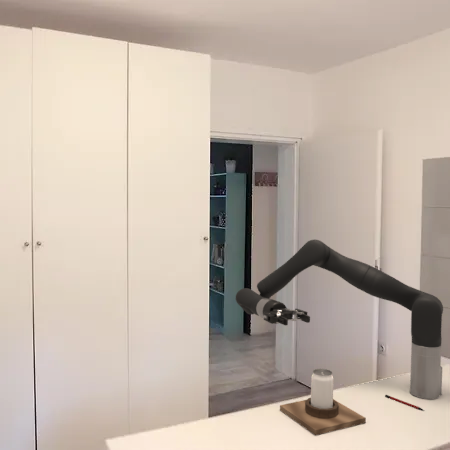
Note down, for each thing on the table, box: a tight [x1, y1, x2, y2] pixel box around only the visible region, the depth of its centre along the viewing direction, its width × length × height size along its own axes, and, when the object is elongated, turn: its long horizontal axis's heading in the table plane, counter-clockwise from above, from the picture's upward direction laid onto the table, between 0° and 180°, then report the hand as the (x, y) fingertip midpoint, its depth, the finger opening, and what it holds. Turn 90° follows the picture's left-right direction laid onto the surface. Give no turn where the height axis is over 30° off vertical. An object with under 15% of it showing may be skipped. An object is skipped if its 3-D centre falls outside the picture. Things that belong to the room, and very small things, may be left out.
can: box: [310, 368, 334, 409], centre depth 148 cm, size 6×6×12 cm
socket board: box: [279, 397, 367, 436], centre depth 148 cm, size 18×18×4 cm
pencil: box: [384, 394, 425, 412], centre depth 158 cm, size 1×14×1 cm, turn 37°
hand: (298, 320), depth 159 cm, fingers open, 8 cm apart
